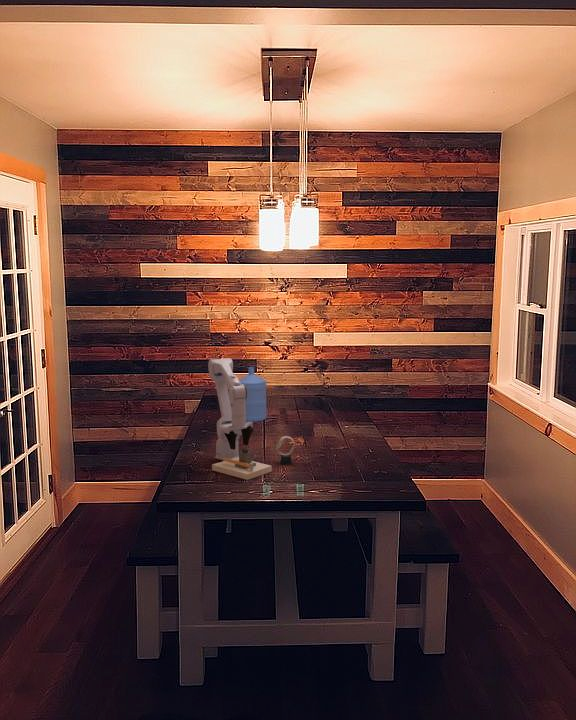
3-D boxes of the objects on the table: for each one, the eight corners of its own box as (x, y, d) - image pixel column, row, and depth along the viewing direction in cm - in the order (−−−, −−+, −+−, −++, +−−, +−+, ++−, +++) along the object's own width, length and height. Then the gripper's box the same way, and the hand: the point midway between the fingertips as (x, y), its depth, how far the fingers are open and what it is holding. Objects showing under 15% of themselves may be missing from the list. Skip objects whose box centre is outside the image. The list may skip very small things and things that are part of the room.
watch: (276, 460, 293) (275, 435, 291) (295, 460, 293) (294, 435, 291) (276, 464, 287) (275, 438, 286) (295, 464, 287) (295, 438, 286)
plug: (235, 472, 277) (234, 449, 276) (245, 468, 282) (244, 446, 281) (245, 474, 273) (245, 451, 272) (256, 471, 278) (255, 448, 277)
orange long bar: (222, 462, 281) (222, 456, 280) (225, 461, 282) (225, 455, 282) (251, 470, 270) (251, 464, 270) (254, 468, 271) (254, 463, 271)
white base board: (212, 470, 280) (212, 464, 280) (236, 462, 291) (236, 457, 290) (247, 479, 267) (247, 474, 267) (271, 471, 278) (271, 465, 277)
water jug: (266, 422, 362) (265, 369, 358) (236, 422, 363) (235, 369, 359) (267, 415, 378) (266, 365, 374) (238, 415, 378) (237, 365, 374)
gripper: (232, 419, 273) (233, 452, 275) (257, 412, 284) (258, 444, 286) (220, 416, 277) (221, 449, 279) (245, 410, 288) (246, 442, 290)
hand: (239, 447), depth 283 cm, fingers open, 7 cm apart
